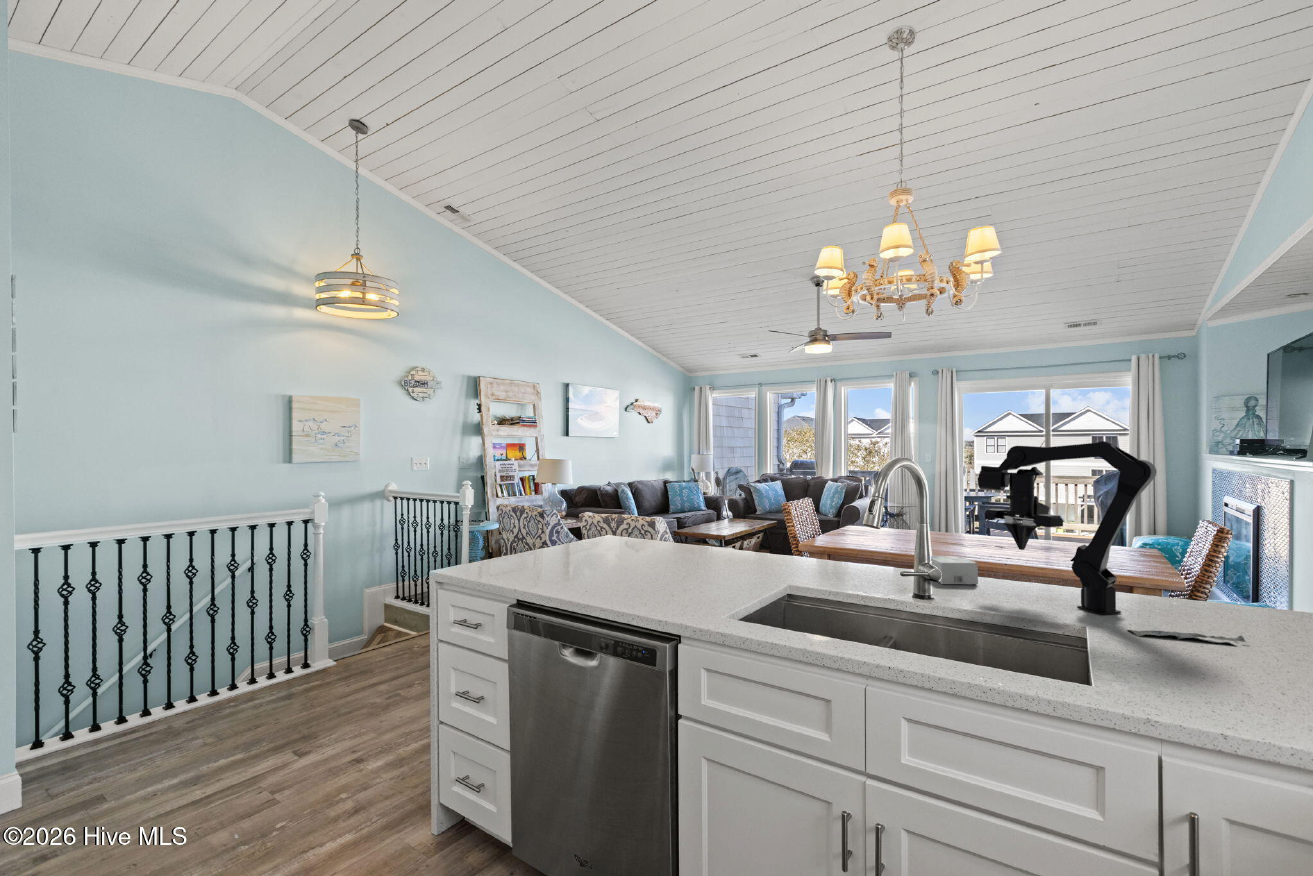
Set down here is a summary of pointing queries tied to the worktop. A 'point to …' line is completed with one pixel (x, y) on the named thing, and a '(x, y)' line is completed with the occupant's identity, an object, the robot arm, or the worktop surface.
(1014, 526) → the robot arm
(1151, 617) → the worktop surface
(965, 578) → the light bulb box
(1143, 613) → the worktop surface
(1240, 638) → the driftwood
